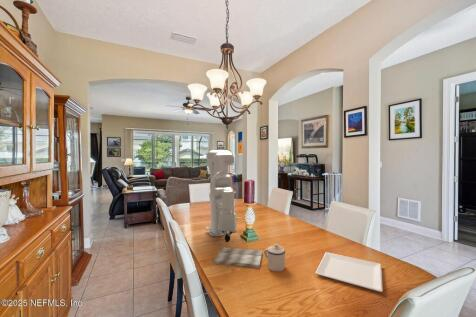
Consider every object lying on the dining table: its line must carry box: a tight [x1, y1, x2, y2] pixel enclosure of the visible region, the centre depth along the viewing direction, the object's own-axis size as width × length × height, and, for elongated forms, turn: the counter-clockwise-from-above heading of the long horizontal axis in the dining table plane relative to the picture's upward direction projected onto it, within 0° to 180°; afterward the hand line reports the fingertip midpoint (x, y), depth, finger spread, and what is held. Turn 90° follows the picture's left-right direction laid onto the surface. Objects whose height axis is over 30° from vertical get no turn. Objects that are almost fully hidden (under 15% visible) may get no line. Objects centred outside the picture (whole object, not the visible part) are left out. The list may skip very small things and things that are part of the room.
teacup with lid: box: [263, 243, 286, 272], centre depth 110 cm, size 12×9×12 cm
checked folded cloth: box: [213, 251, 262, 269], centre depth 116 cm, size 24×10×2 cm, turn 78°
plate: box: [315, 251, 383, 293], centre depth 105 cm, size 26×26×2 cm
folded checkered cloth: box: [219, 246, 263, 259], centre depth 124 cm, size 24×6×2 cm, turn 78°
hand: (227, 241), depth 128 cm, fingers closed
